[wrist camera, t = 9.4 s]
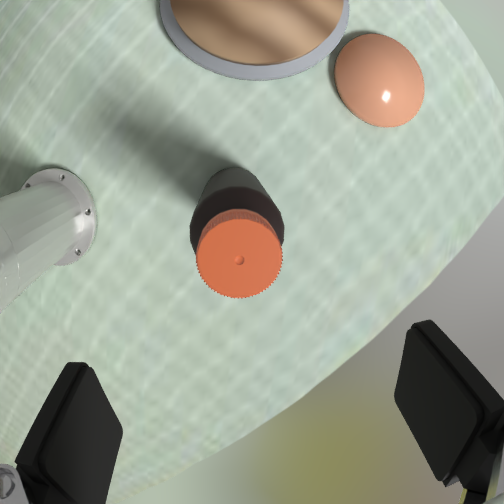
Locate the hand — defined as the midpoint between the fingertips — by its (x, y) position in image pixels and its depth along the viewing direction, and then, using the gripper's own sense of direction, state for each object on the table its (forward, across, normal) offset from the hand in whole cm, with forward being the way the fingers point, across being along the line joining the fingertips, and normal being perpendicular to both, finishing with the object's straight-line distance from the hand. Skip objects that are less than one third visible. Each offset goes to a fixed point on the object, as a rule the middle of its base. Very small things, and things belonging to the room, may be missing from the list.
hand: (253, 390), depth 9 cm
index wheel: (+29, -5, -24) cm, 38 cm away
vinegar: (+30, 0, 0) cm, 30 cm away
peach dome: (+30, -19, -13) cm, 38 cm away
